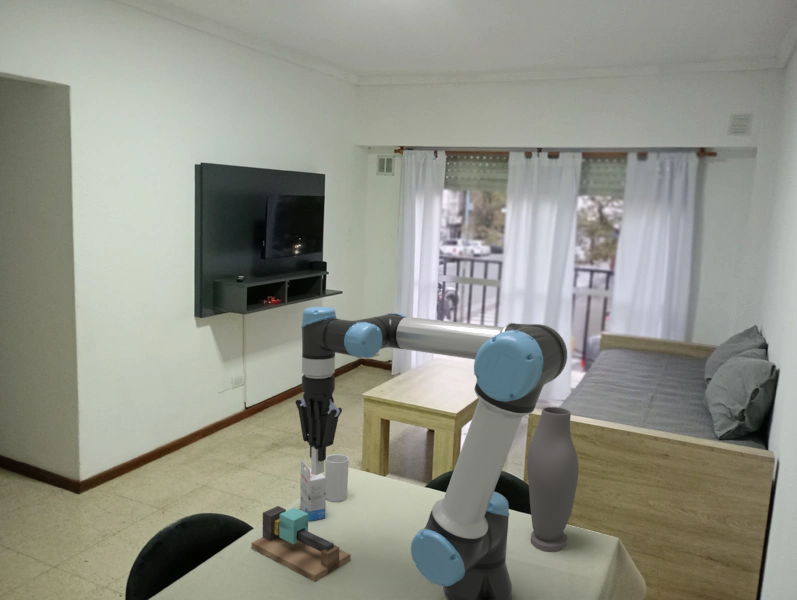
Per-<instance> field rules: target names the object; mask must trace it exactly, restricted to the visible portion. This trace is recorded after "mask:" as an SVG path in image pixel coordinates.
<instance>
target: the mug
mask: <svg viewBox="0 0 797 600" xmlns="http://www.w3.org/2000/svg"><path fill="white" fill-rule="evenodd" d="M349 459H350V458H349V456H347V455H346V454H342V453H334V454H332V453H331V454H330V455H329V454H328V455H326V459H325V460H324V472H325V473H324V476H325V477H326V500H327V501H329V502H333V503H340V502H343V501H345V500H347V498H348V481H349V463H350V462H349Z"/></svg>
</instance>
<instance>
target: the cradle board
mask: <svg viewBox="0 0 797 600" xmlns="http://www.w3.org/2000/svg"><path fill="white" fill-rule="evenodd" d="M285 511H287V509H286V508H284V507H281V506H279V505H277V506H275V507H273V508H270V509H268V510H266V511H263V512H262V536H261V537H259V538H258V539H256V540H254V541H252V542H251V549H252V550H254V551H256V552H258V553H259V554H262V555H263V556H266V557H267V558H269V559H271V560H273V561H274V562H277V563H278V564H280V565H283V566H285V567H286V568H288V569H290V570H292V571H293V572H296V573H298V574H299V575H301V576H303V577H305V578H307V579H309V580H311V582H312V581H313V582H317V581H319V580H320V579H322V578H323V577H325V576H327V575H329V574H330V573H331V572H334V571H336V569H338V568H341V567H342V566H343V565H345V564H347V563H348V562H350V561H351V555H352V554H350V553H348V552H347V551H344V550H341V549H340V546H337V545H335V544H334V543H333V542H331V541H330V540H327V539H325V538H323V537H320V536H319V535H317V534H314V533H312V532H310V531H309V530H308V531H306V530H304V529H301V530H299V531H297V543H295V544H292V543H290V542H288V541H286V540H284V539H282V538H280V537H279V528H280V514H281V513H283V512H285Z"/></svg>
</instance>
